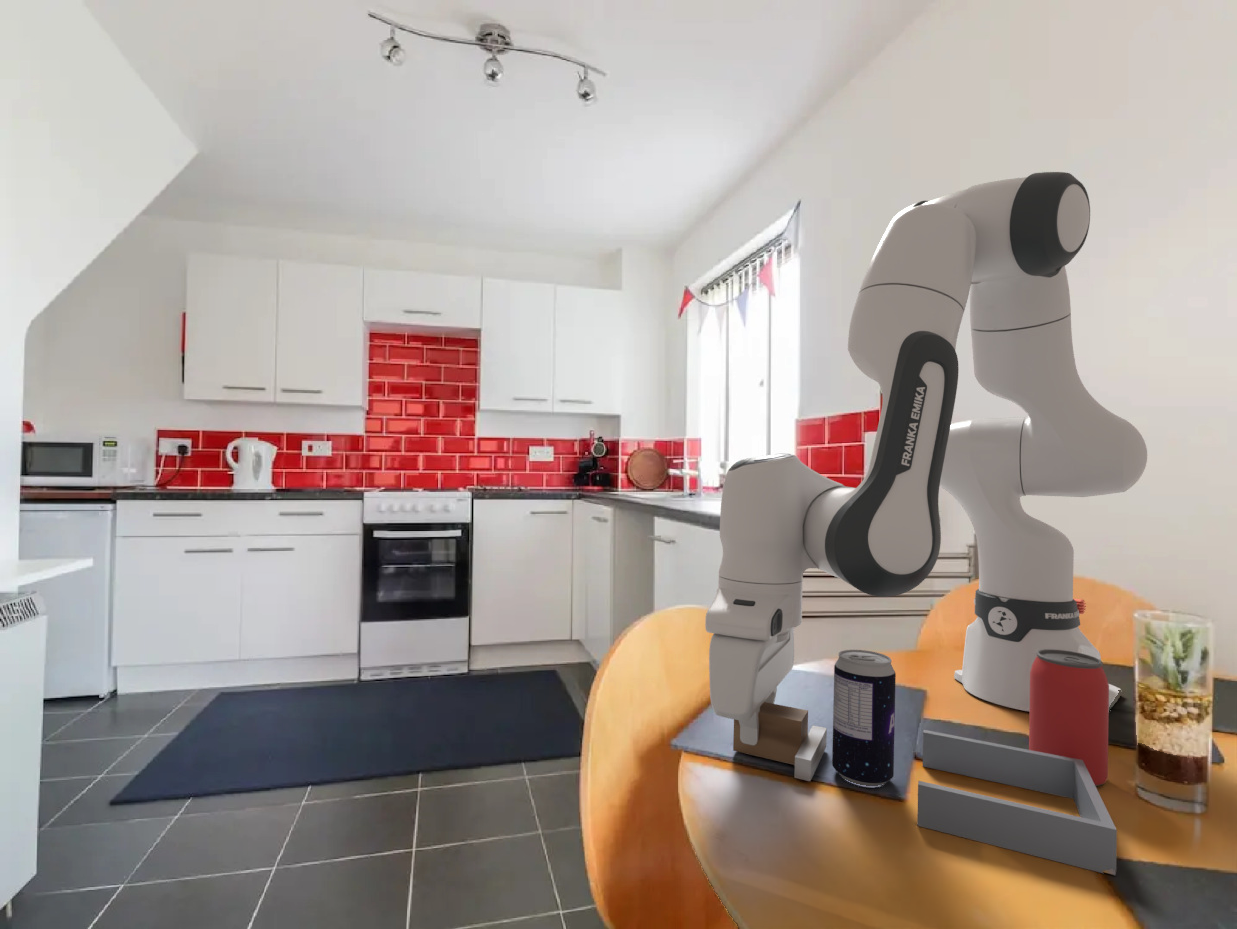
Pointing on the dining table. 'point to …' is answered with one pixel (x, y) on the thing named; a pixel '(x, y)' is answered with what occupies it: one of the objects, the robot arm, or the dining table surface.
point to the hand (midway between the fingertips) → (756, 733)
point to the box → (1011, 822)
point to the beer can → (1070, 709)
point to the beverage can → (864, 717)
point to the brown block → (786, 739)
